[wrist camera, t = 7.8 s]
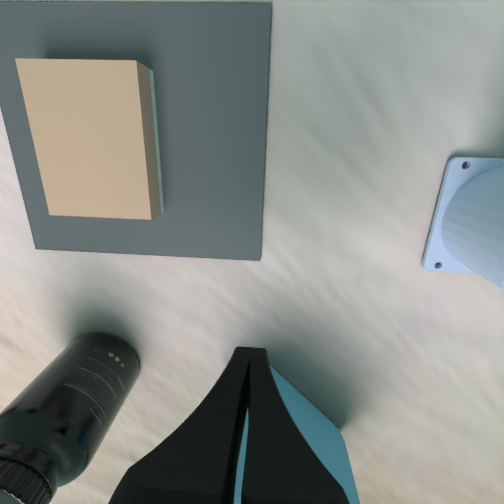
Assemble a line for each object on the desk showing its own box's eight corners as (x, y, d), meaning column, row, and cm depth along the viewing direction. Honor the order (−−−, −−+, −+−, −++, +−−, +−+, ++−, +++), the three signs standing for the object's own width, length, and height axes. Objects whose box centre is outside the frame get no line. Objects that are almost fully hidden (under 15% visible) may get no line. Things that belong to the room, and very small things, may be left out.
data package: (225, 379, 27) (191, 548, 16) (260, 354, 26) (251, 518, 14) (307, 450, 29) (328, 639, 18) (343, 431, 28) (390, 621, 17)
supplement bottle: (111, 399, 29) (7, 563, 17) (56, 355, 27) (-97, 502, 16) (157, 365, 27) (73, 524, 15) (101, 316, 25) (-37, 452, 14)
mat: (271, 5, 17) (271, 2, 16) (260, 259, 22) (260, 260, 22) (-22, 3, 18) (-26, 1, 17) (38, 247, 23) (35, 249, 23)
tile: (136, 60, 16) (14, 58, 16) (151, 219, 19) (49, 215, 19) (153, 71, 18) (46, 68, 18) (164, 211, 21) (72, 207, 22)
